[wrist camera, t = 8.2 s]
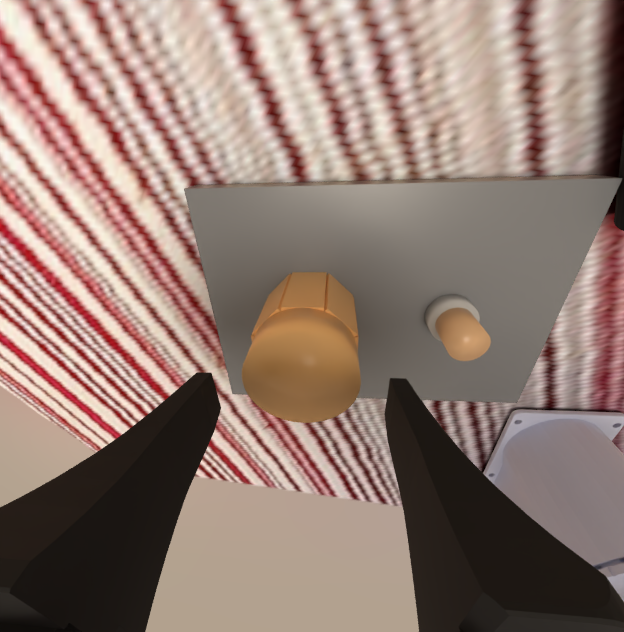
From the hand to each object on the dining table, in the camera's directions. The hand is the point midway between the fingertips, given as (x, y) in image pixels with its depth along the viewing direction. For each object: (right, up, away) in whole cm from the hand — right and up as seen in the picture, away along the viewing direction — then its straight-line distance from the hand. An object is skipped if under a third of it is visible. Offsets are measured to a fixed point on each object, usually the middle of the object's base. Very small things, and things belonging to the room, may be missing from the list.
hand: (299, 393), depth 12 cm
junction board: (+4, +4, +7) cm, 9 cm away
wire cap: (0, +3, +5) cm, 7 cm away
